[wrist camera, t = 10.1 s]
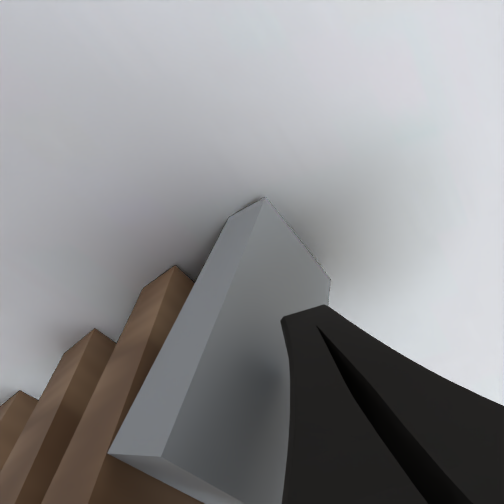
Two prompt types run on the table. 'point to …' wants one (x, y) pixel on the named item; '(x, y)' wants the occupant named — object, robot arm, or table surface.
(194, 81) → the table surface
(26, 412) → the domino
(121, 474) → the domino
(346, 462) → the robot arm
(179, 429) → the domino
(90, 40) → the table surface
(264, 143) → the table surface
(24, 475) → the domino
